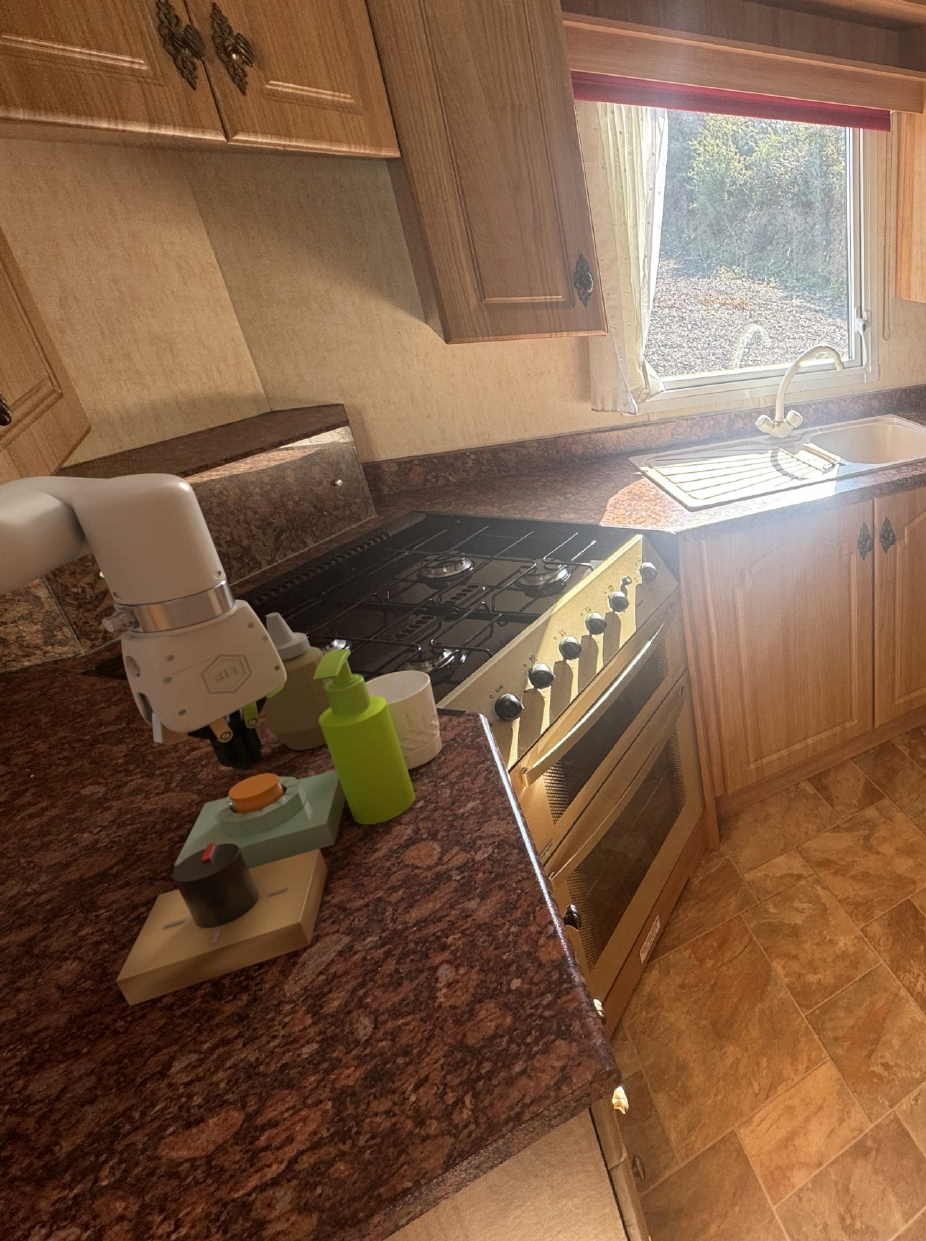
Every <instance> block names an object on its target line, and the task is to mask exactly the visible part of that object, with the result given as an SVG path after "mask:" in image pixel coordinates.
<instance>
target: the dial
mask: <svg viewBox="0 0 926 1241" xmlns="http://www.w3.org/2000/svg"><path fill="white" fill-rule="evenodd" d="M171 876H172V879H173V882H174V883H175V886H176V887H177V889H179V891H180V893H181V895H182V897H183V899H184V902H185V904H186V906H187V908H188V910H189V912H190V914H191V916H192V918H193V920H194V922H195V924H196V925H197V926H199V927H202V928H211V927H216V926H220V925H223V924H226V923H228V922H231V921H233V920H235V919H237V918H238V917H240V916H242V915H243V914H245V913H246V912H247V911H248V910H250V909H251V908H252V907H253V906H254V905H255V903H256V902H257V900H258V898H259V892H258V890H257V887H256V885H255V883H254V881H253V878H252V876H251V874H250V871H249V869H248V867H247V865H246V862H245V860H244V858H243V855H242V853H241V851H240V849H239V847H238V846H237V845H235V844H229V843H227V844H219V845H216V843H212V844H208V845H207V848H205V849H203V850H200V851H198V852H196V853H194V854H192V855H191V856H189V857H188V858H186V859H185V860H183V861H182V862H181V863H180V864H179V865H178V866H177V867H176V868H175V867H174V869H173V871H172V875H171Z"/></svg>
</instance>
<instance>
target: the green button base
mask: <svg viewBox="0 0 926 1241" xmlns="http://www.w3.org/2000/svg"><path fill="white" fill-rule="evenodd" d="M278 778H279V780H280V783H281V785H282V788H283V791H284V795H283V796H282V797H281V798H280V799H279V800H278V801H276V802H275V803H273V804H271V805H269V806H267V807H264V808H262V809H260V810H256V811H253V812H249V813H237V812H236V811H235V809H234V807H233V805H232V802H231V800H230V798H229V795H228V796H226V797H224V798H223V797H222V798H219V799H215V800H212V801H207V802H204V804H203V807H202V809H201V810H200V812H199V815H198V816H197V819H196V820H195V822H194V824H193V827H192V828H191V831H190V833H189V835H188V836H187V838H186V840H185V843H184V844H183V847H182V849H181V851H180V853H179V855H178V857H177V858H176V861H175V862H174V864H173V866H174V869H175V868H176V867H177V866H178V865H179V864H180V863H181V862H182V861H183V860H185V859H186V858H188V857H189V856H191V855H192V854H194V853H196V852H198V851H200V850H203V849H205V848H207V845H208V844H212V843H216V845H219V844H227V843H229V844H235V845H237V846H238V847H239V849H240V851H241V853H242V855H243V858H244V860H245V862H246V865H247V867H248V869H250V868H254V867H257V866H261V865H264V864H268V863H271V862H274V861H278V860H281V859H285V858H288V857H292V856H295V855H299V854H302V853H306V852H309V851H313V850H316V849H320V850H321V849H324V848H328V847H332V846H335V845H336V840H337V835H338V832H339V827H340V824H341V819H342V815H343V812H344V807H345V804H344V803H346V800H345V798H346V796H345V793H344V790H343V788H342V785H341V782H340V779H339V776H338V774H337V771H336V769H335V770H331V771H327V772H323V773H320V774H315V775H311V776H307V777H303V778H300V779H299V778H298V779H297V778H296V777H295V776H278Z"/></svg>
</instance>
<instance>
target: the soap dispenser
mask: <svg viewBox="0 0 926 1241" xmlns="http://www.w3.org/2000/svg"><path fill="white" fill-rule="evenodd" d="M351 653H352V652H351V649H350V648H348V647H347V648H343V649H342V648H341V649H336V650H330V651H327V652H326V653H325V654H324V657H323V658H322V660H321V661H320V663H319V664H318V666H317V669H316V671H315V674H314V677H313V679H314V680H315V681H316V680H322V679H328V678H332V680H331V681H329V682H328V683H327V684H326V685H325V687H324V690H325V693H326V696H327V699H328V702H329V705H330V708H328V709H327V710H326V711H324V712H323V713H322V714H321V716H320V717H319V723H320V726H321V729H322V731H323V734H324V737H325V740H326V743H327V744H326V745H327V748H328V751H329V754H330V757H331V760H332V763H333V765H334V768H335V770H336V771H337V774H338V776H339V779H340V782H341V785H342V788H343V790H344V793H345V796H346V801H347V805H348V807H349V810H350V812H351V816H352V818H353V820H354V821H355V823H358V824H360V825H377V824H380V822H381V823H384V822H388V821H390V820H393V819H395V818H397V817H399V816H400V815H402V814H403V813H405V812H406V811H407V810H408V809H410V808H411V806H412V805H413V804H414V802H415V800H416V793H415V790H414V787H413V783H412V780H411V777H410V773H409V771H408V770H409V769H408V770H407V767H406V764H405V760H404V757H403V754H402V751H401V748H400V744H399V741H398V738H397V735H396V731H395V728H394V725H393V722H392V719H391V715H390V712H389V709H388V706H387V702H386V700H385V699H384V698H383V697H380V696H375V695H369V693H368V690H367V687H366V684H365V683H366V682H365V678H364V676H362V675H361V674H357V673H352V671H351V670H352V669H351V667H350V663H349V661H348V658H349V656H350V655H351ZM376 823H377V824H376Z"/></svg>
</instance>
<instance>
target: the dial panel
mask: <svg viewBox="0 0 926 1241" xmlns="http://www.w3.org/2000/svg"><path fill="white" fill-rule="evenodd" d="M328 869H329V868H328V867H327V864H326V862H325V859H324V856H323V854H322V851H321V849H316V850H313V851H309V852H306V853H302V854H299V855H295V856H292V857H288V858H285V859H281V860H278V861H274V862H271V863H268V864H264V865H261V866H257V867H254V868H250V869H249V871H250V874H251V876H252V878H253V881H254V883H255V885H256V887H257V890H258V892H259V898H258V900H257V902H256V903H255V905H254V906H253V907H252V908H251V909H250V910H248V911H247V912H246V913H245V914H243V915H242V916H240V917H238V918H237V919H235V920H233V921H231V922H228V923H226V924H223V925H220V926H216V927H211V928H202V927H199V926H197V925H196V924H195V922H194V920H193V918H192V916H191V914H190V912H189V910H188V908H187V906H186V904H185V902H184V899H183V897H182V895H181V893H180V891H179V889H178V888H177V889H174V890H170V891H167V892H164V893H161V894H158V896H157V898H156V900H155V902H154V904H153V906H152V908H151V910H150V912H149V914H148V916H147V918H146V920H145V922H144V924H143V926H142V928H141V930H140V932H139V934H138V936H137V938H136V940H135V942H134V944H133V946H132V948H131V950H130V952H129V954H128V956H127V957H126V960H125V962H124V964H123V966H122V968H121V970H120V972H119V973H118V976H117V978H116V979H115V983H116V984H117V986H118V989H120V990H119V991H121V993H122V995H123V996H124V998H125V1000H126V1001H127V1004H128V1005H129V1007H131V1006H134V1005H135V1006H136V1005H138V1004H140V1003H143V1002H146V1001H150V1000H153V999H155V998H158V997H161V996H164V995H167V994H170V993H174V992H177V991H179V990H182V989H185V988H189V987H192V986H194V985H197V984H200V983H204V982H206V981H209V980H212V979H215V978H218V977H221V976H225V975H227V974H230V973H233V972H235V971H239V970H242V969H245V968H247V967H250V966H254V965H257V964H259V963H263V962H265V961H269V960H271V959H274V958H278V957H281V956H283V955H286V954H289V953H291V952H295V951H298V950H301V949H304V948H307V947H310V945H311V941H312V937H313V933H314V929H315V925H316V922H317V917H318V915H319V914H318V913H319V910H320V905H321V901H322V897H323V892H324V890H325V885H326V881H327V876H328V874H329V873H328V872H329V870H328Z"/></svg>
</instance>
